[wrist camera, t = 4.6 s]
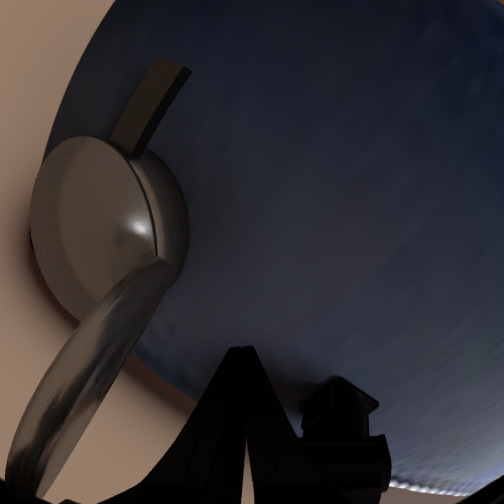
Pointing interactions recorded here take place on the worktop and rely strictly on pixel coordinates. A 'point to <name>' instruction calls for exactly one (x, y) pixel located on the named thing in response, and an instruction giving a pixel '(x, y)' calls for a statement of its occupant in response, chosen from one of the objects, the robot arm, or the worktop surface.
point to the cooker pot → (110, 201)
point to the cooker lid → (82, 379)
